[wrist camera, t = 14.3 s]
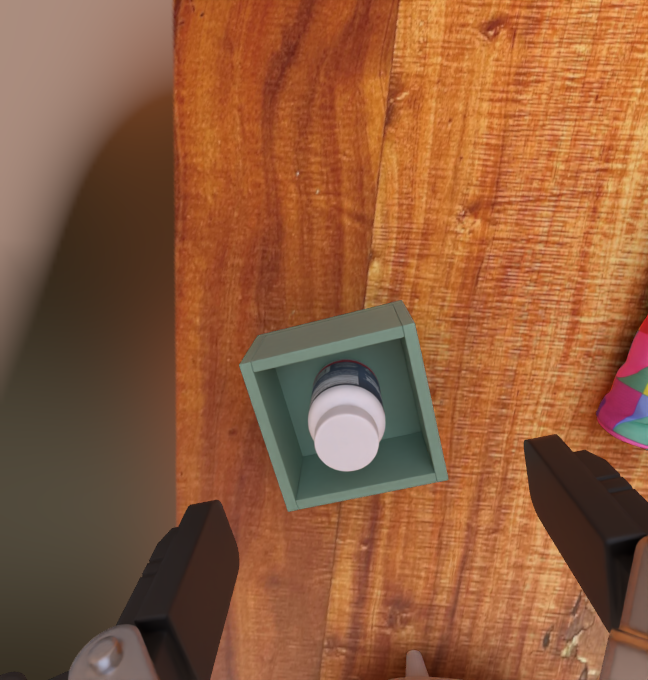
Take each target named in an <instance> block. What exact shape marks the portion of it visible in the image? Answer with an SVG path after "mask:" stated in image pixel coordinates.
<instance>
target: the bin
mask: <svg viewBox="0 0 648 680" xmlns="http://www.w3.org/2000/svg"><path fill="white" fill-rule="evenodd" d="M346 358H347V359H355V360H358V361H361V362H363V363H364V364H366V365H367V366H368V367H370V368H371V369H372V371H373V372H374V373H375V375H376V377H377V379H378V382H379V386H380V391H381V398H382V402H383V408H384V412H385V431H384V434H383V436H382V439H381V440H380V442H379V447H378V451H377V454H376V456H375V457H374V459H373V460H372V461H371V462H370V463H369V464H368V465H366V466H365V467H363V468H361V469H358V470H355V471H339V470H335V469H333V468H331V467H329V466H327V465H326V464H325V463H324V462H323V461H322V460H321V459H320V458H319V456H318V455H317V452H316V450H315V445H314V440H313V438H312V436H311V434H310V431H309V427H308V413H309V408H310V403H311V396H312V390H313V384H314V381H315V378H316V376H317V374H318V372H319V371H320V370H321V369H322V368H323V367H324V366H325V365H327V364H328V363H330V362H332V361H334V360H338V359H346ZM239 367H240V370H241V373H242V376H243V379H244V382H245V385H246V388H247V391H248V394H249V397H250V400H251V403H252V406H253V409H254V412H255V415H256V418H257V421H258V424H259V427H260V430H261V433H262V435H263V438H264V441H265V444H266V447H267V450H268V453H269V456H270V459H271V462H272V465H273V468H274V471H275V474H276V477H277V480H278V483H279V486H280V489H281V492H282V495H283V498H284V501H285V504H286V507H287V510H288V512H290V511H295V510H298V509H304V508H309V507H314V506H319V505H325V504H330V503H335V502H340V501H345V500H350V499H355V498H360V497H365V496H370V495H375V494H380V493H385V492H390V491H395V490H400V489H405V488H410V487H415V486H420V485H425V484H430V483H435V482H441V481H446V480H448V475H447V470H446V465H445V461H444V456H443V451H442V447H441V442H440V437H439V433H438V428H437V423H436V419H435V414H434V410H433V405H432V400H431V396H430V391H429V386H428V382H427V377H426V372H425V368H424V363H423V358H422V354H421V349H420V344H419V340H418V335H417V330H416V326H415V323H414V321H413V319H412V317H411V315H410V314H409V312H408V310H407V308H406V307H405V305H404V303H403V301H402V300H400V301H396V302H392V303H388V304H384V305H380V306H376V307H372V308H367V309H363V310H359V311H355V312H351V313H347V314H343V315H339V316H335V317H331V318H327V319H323V320H319V321H315V322H310V323H306V324H302V325H298V326H294V327H290V328H286V329H282V330H278V331H274V332H270V333H266V334H262V335H258V336H257V337H256V339H255V340H254V342H253V344H252V345H251V347H250V348H249V350H248V351H247V353H246V355H245V356H244V358H243V359H242V361H241V363H240V364H239Z"/></svg>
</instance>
